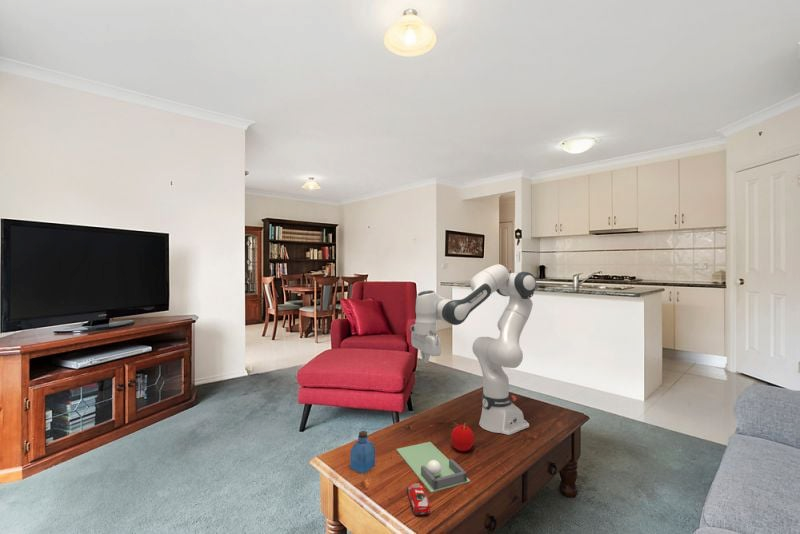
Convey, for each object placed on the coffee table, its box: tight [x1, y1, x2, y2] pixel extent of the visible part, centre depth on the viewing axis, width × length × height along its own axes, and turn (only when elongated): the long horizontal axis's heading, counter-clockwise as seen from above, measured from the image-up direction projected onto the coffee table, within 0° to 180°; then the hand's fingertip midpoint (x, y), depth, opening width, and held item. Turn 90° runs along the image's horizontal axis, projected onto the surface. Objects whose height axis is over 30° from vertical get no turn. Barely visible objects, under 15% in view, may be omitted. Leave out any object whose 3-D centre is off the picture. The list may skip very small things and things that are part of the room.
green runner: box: [395, 441, 471, 494], centre depth 126 cm, size 15×28×1 cm, turn 24°
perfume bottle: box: [349, 430, 376, 475], centre depth 124 cm, size 6×6×12 cm
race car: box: [406, 482, 431, 516], centre depth 106 cm, size 13×5×4 cm, turn 7°
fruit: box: [450, 423, 475, 452], centre depth 138 cm, size 9×9×10 cm
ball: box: [427, 460, 441, 477], centre depth 119 cm, size 5×5×5 cm
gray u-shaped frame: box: [421, 458, 468, 490], centre depth 118 cm, size 12×9×3 cm
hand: (425, 362), depth 148 cm, fingers closed
